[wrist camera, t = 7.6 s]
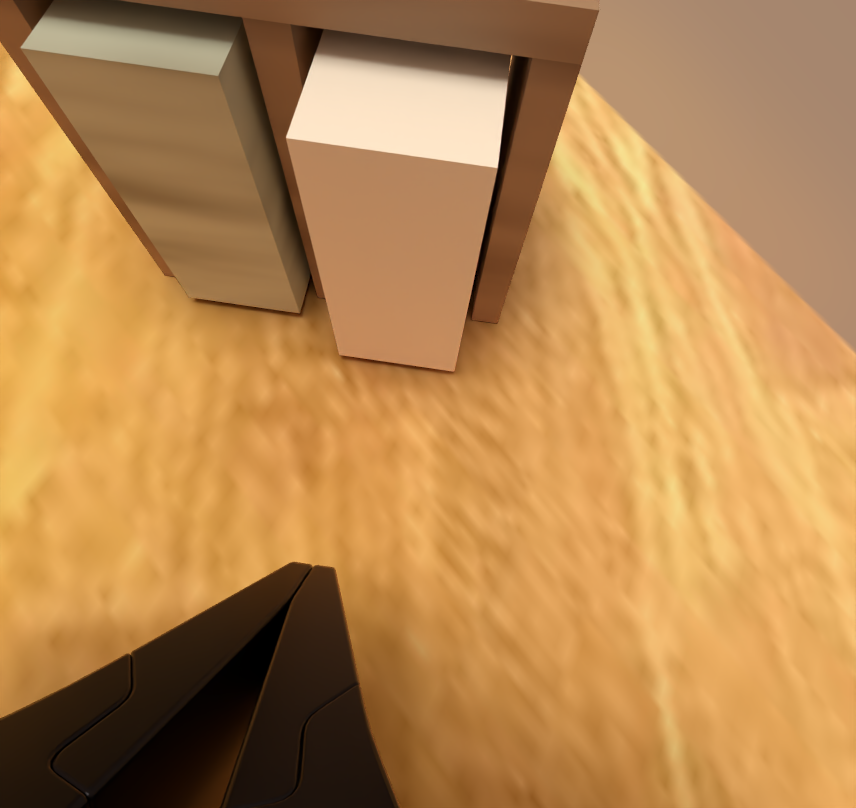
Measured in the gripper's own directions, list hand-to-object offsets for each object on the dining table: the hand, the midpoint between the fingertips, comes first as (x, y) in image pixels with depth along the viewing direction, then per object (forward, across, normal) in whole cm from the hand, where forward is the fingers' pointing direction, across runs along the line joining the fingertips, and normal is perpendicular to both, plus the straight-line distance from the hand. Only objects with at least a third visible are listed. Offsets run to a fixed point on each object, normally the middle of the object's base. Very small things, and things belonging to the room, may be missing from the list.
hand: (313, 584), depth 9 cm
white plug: (+14, 0, +6) cm, 15 cm away
